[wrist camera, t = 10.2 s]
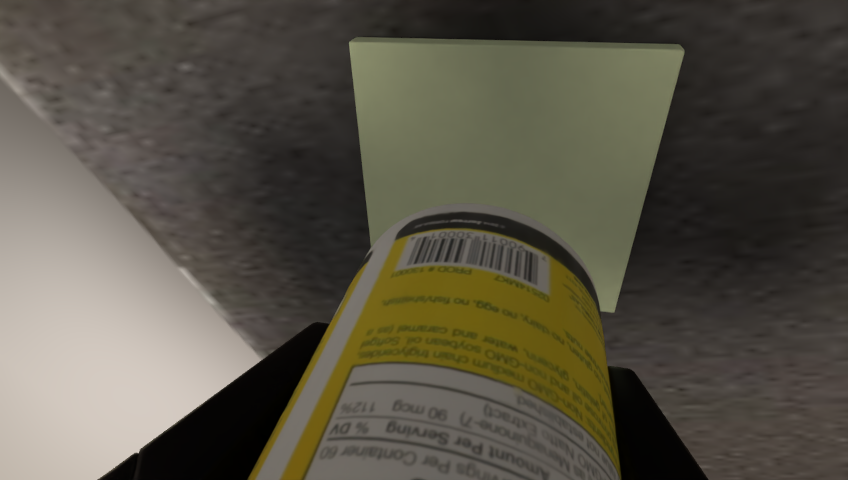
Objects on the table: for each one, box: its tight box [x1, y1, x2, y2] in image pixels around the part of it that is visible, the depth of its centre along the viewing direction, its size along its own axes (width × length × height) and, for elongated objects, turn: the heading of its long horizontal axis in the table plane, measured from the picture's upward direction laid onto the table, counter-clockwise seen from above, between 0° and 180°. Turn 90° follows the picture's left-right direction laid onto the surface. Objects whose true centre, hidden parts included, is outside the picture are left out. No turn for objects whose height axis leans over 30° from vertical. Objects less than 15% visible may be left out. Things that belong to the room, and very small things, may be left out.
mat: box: [349, 37, 685, 313], centre depth 14 cm, size 8×8×1 cm
